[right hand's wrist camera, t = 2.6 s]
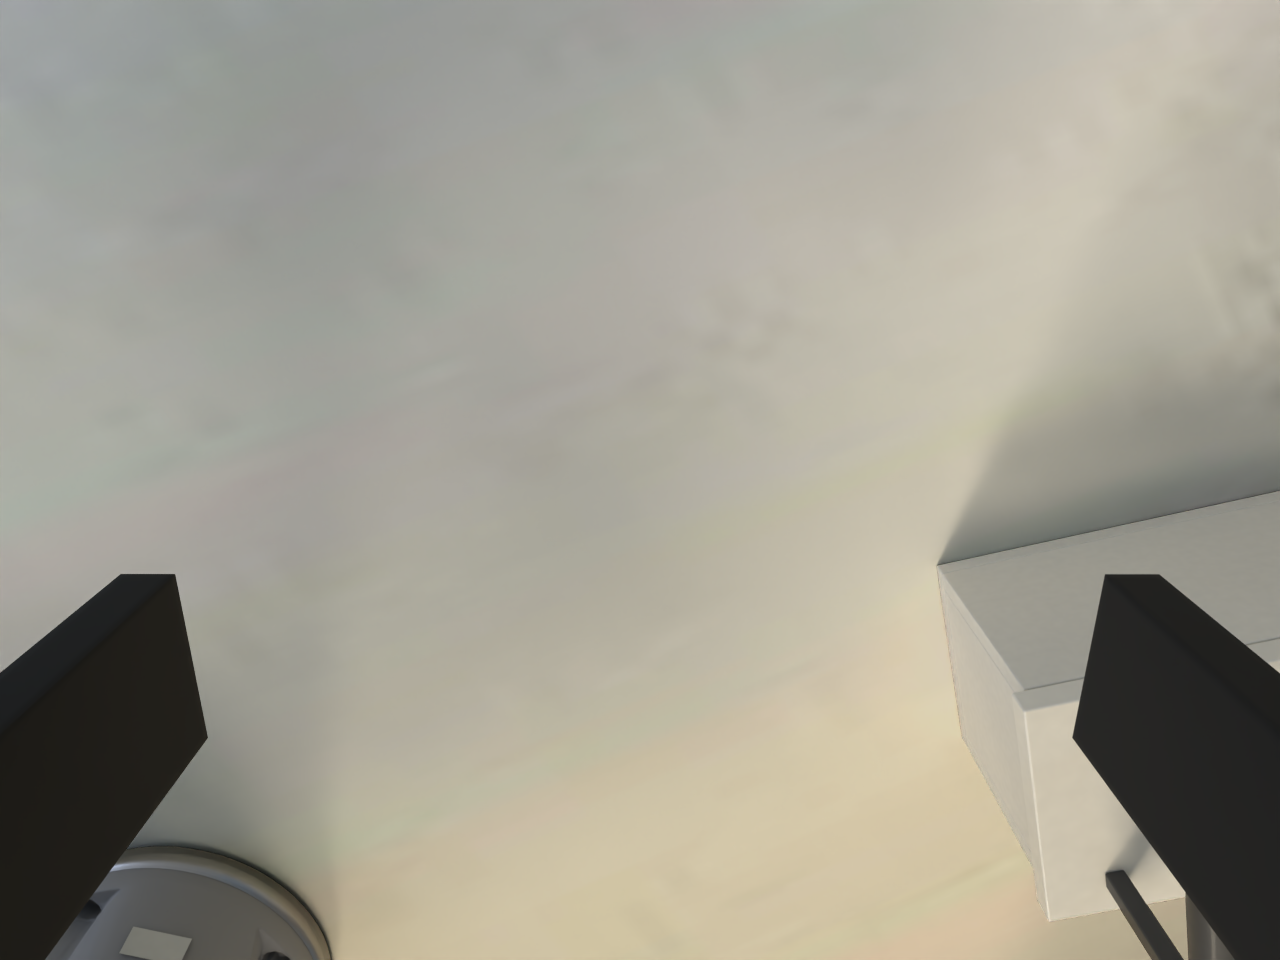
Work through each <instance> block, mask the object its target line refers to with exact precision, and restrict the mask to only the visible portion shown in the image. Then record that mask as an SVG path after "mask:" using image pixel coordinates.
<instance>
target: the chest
mask: <svg viewBox="0 0 1280 960" xmlns="http://www.w3.org/2000/svg"><path fill="white" fill-rule="evenodd" d="M937 572H938V578H939V585H940V592H941V599H942V605H943V612H944V619H945V626H946V632H947V639H948V646H949V653H950V659H951V666H952V673H953V679H954V686H955V693H956V700H957V706H958V713H959V720H960V727H961V733H962V738H963V740H964V742H965V744H966V746H967V747H968V749H969V751H970V753H971V755H972V757H973V759H974V761H975V762H976V764H977V766H978V768H979V770H980V772H981V773H982V775H983V777H984V779H985V781H986V783H987V784H988V786H989V788H990V790H991V792H992V794H993V796H994V797H995V799H996V801H997V803H998V805H999V807H1000V808H1001V810H1002V812H1003V814H1004V816H1005V818H1006V820H1007V821H1008V823H1009V825H1010V827H1011V829H1012V831H1013V832H1014V834H1015V836H1016V838H1017V840H1018V842H1019V844H1020V845H1021V847H1022V849H1023V851H1024V853H1025V855H1026V856H1027V858H1028V860H1029V862H1030V864H1031V866H1032V867H1033V863H1032V855H1031V847H1030V839H1029V831H1028V823H1027V815H1026V807H1025V798H1024V790H1023V782H1022V774H1021V766H1020V758H1019V750H1018V741H1017V733H1016V725H1015V717H1014V709H1013V701H1012V694H1013V693H1016V692H1021V691H1026V690H1031V689H1036V688H1041V687H1045V686H1050V685H1055V684H1060V683H1065V682H1070V681H1075V680H1080V679H1084V676H1085V671H1086V666H1087V661H1088V656H1089V651H1090V646H1091V641H1092V636H1093V631H1094V626H1095V621H1096V616H1097V611H1098V606H1099V601H1100V596H1101V591H1102V586H1103V581H1104V576H1105V574H1160V575H1161V576H1162V577H1163V578H1164V579H1166V580H1167V581H1168V582H1169V583H1171V584H1172V585H1173V586H1174V587H1175V588H1177V589H1178V590H1179V591H1180V592H1182V593H1183V594H1184V595H1185V596H1186V597H1188V598H1189V599H1190V600H1191V601H1193V602H1194V603H1195V604H1196V605H1197V606H1199V607H1200V608H1201V609H1202V610H1203V611H1205V612H1206V613H1207V614H1208V615H1210V616H1211V617H1212V618H1213V619H1214V620H1216V621H1217V622H1218V623H1219V624H1221V625H1222V626H1223V627H1224V628H1225V629H1227V630H1228V631H1229V632H1230V633H1232V634H1233V635H1234V636H1235V637H1236V638H1238V639H1239V640H1240V641H1241V642H1243V643H1244V644H1245V645H1251V644H1256V643H1261V642H1266V641H1271V640H1275V639H1280V491H1277V492H1272V493H1268V494H1263V495H1258V496H1254V497H1249V498H1245V499H1240V500H1236V501H1231V502H1226V503H1222V504H1217V505H1213V506H1208V507H1203V508H1199V509H1194V510H1190V511H1185V512H1181V513H1176V514H1171V515H1167V516H1162V517H1158V518H1153V519H1148V520H1144V521H1139V522H1135V523H1130V524H1126V525H1121V526H1116V527H1112V528H1107V529H1103V530H1098V531H1093V532H1089V533H1084V534H1080V535H1075V536H1071V537H1066V538H1061V539H1057V540H1052V541H1048V542H1043V543H1038V544H1034V545H1029V546H1025V547H1020V548H1015V549H1011V550H1006V551H1002V552H997V553H993V554H988V555H983V556H979V557H974V558H970V559H965V560H960V561H956V562H951V563H947V564H942V565H938V566H937Z"/></svg>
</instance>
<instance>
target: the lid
mask: <svg viewBox="0 0 1280 960" xmlns="http://www.w3.org/2000/svg"><path fill="white" fill-rule="evenodd" d="M1246 646H1247V647H1249V648H1250V649H1251V650H1252V651H1253V652H1255V653H1256V654H1257V655H1258V656H1260V657H1261V658H1262V659H1263V660H1264V661H1266V662H1267V663H1268V664H1269V665H1271V666H1272V667H1273V668H1274V669H1275V670H1277V671H1278V672H1279V673H1280V639H1275V640H1271V641H1266V642H1261V643H1256V644H1251V645H1246ZM1083 681H1084V679H1080V680H1075V681H1070V682H1065V683H1060V684H1055V685H1050V686H1045V687H1041V688H1036V689H1031V690H1026V691H1021V692H1016V693H1013V694H1012V701H1013V709H1014V717H1015V725H1016V733H1017V741H1018V750H1019V758H1020V766H1021V774H1022V782H1023V790H1024V798H1025V807H1026V815H1027V823H1028V831H1029V839H1030V847H1031V855H1032V863H1033V872H1034V880H1035V888H1036V896H1037V901H1038V903H1039V905H1040V906H1041V908H1042V910H1043V912H1044V914H1045V916H1046V918H1047V920H1048V921H1049V922H1053V921H1059V920H1064V919H1070V918H1075V917H1081V916H1086V915H1092V914H1097V913H1103V912H1108V911H1114V910H1119V909H1120V910H1121V911H1122V913H1123V914H1124V916H1125V918H1126V919H1127V921H1128V922H1129V924H1130V926H1131V927H1132V929H1133V930H1134V932H1135V933H1136V935H1137V937H1138V938H1139V940H1140V941H1141V943H1142V945H1143V946H1144V948H1145V949H1146V951H1147V953H1148V954H1149V956H1150V957H1151V959H1152V960H1184V959H1183V958H1182V956H1181V955H1180V953H1179V952H1178V950H1177V949H1176V947H1175V946H1174V944H1173V943H1172V941H1171V940H1170V938H1169V937H1168V935H1167V934H1166V932H1165V931H1164V929H1163V928H1162V926H1161V925H1160V923H1159V922H1158V920H1157V919H1156V917H1155V916H1154V914H1153V913H1152V911H1151V910H1150V908H1149V907H1148V905H1147V904H1152V903H1158V902H1163V901H1169V900H1174V899H1180V898H1186V918H1187V939H1188V959H1189V960H1235V959H1234V958H1233V956H1232V955H1231V954H1230V952H1229V951H1228V950H1227V948H1226V947H1225V946H1224V944H1223V943H1222V941H1221V940H1220V939H1219V937H1218V936H1217V935H1216V933H1215V932H1214V931H1213V929H1212V928H1211V926H1210V925H1209V924H1208V922H1207V921H1206V920H1205V918H1204V917H1203V916H1202V914H1201V913H1200V911H1199V910H1198V909H1197V907H1196V906H1195V905H1194V903H1193V902H1192V901H1191V899H1190V898H1189V896H1188V895H1187V894H1186V892H1185V891H1184V890H1183V888H1182V887H1181V886H1180V884H1179V883H1178V881H1177V880H1176V879H1175V877H1174V876H1173V875H1172V873H1171V872H1170V871H1169V869H1168V868H1167V866H1166V865H1165V864H1164V862H1163V861H1162V860H1161V858H1160V857H1159V856H1158V854H1157V853H1156V851H1155V850H1154V849H1153V847H1152V846H1151V845H1150V843H1149V842H1148V841H1147V839H1146V838H1145V836H1144V835H1143V834H1142V832H1141V831H1140V830H1139V828H1138V827H1137V826H1136V824H1135V823H1134V821H1133V820H1132V819H1131V817H1130V816H1129V815H1128V813H1127V812H1126V811H1125V809H1124V808H1123V806H1122V805H1121V804H1120V802H1119V801H1118V800H1117V798H1116V797H1115V796H1114V794H1113V793H1112V791H1111V790H1110V789H1109V787H1108V786H1107V785H1106V783H1105V782H1104V780H1103V779H1102V778H1101V776H1100V775H1099V774H1098V772H1097V771H1096V770H1095V768H1094V767H1093V765H1092V764H1091V763H1090V761H1089V760H1088V759H1087V757H1086V756H1085V755H1084V753H1083V752H1082V750H1081V749H1080V748H1079V746H1078V745H1077V744H1076V742H1075V741H1074V740H1073V738H1072V736H1073V731H1074V726H1075V721H1076V716H1077V711H1078V706H1079V701H1080V696H1081V691H1082V686H1083Z"/></svg>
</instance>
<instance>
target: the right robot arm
mask: <svg viewBox="0 0 1280 960" xmlns="http://www.w3.org/2000/svg"><path fill="white" fill-rule="evenodd" d="M207 738H208V736H207V731H206V726H205V721H204V716H203V711H202V706H201V701H200V696H199V691H198V686H197V681H196V676H195V671H194V666H193V661H192V656H191V651H190V646H189V641H188V636H187V631H186V626H185V621H184V616H183V611H182V606H181V601H180V596H179V591H178V586H177V581H176V576H175V574H120V575H119V576H118V577H117V578H116V579H114V580H113V581H112V582H111V583H109V584H108V585H107V586H106V587H105V588H103V589H102V590H101V591H100V592H98V593H97V594H96V595H95V596H94V597H92V598H91V599H90V600H89V601H87V602H86V603H85V604H84V605H83V606H81V607H80V608H79V609H78V610H77V611H75V612H74V613H73V614H72V615H70V616H69V617H68V618H67V619H66V620H64V621H63V622H62V623H61V624H59V625H58V626H57V627H56V628H55V629H53V630H52V631H51V632H50V633H48V634H47V635H46V636H45V637H44V638H42V639H41V640H40V641H39V642H37V643H36V644H35V645H34V646H33V647H31V648H30V649H29V650H28V651H27V652H25V653H24V654H23V655H22V656H20V657H19V658H18V659H17V660H16V661H14V662H13V663H12V664H11V665H9V666H8V667H7V668H6V669H5V670H3V671H2V672H1V673H0V960H331V959H330V954H329V950H328V946H327V944H326V941H325V939H324V936H323V934H322V932H321V930H320V929H319V927H318V925H317V923H316V922H315V920H314V919H313V917H312V916H311V915H310V913H309V912H308V911H307V910H306V909H305V907H304V906H303V905H302V904H301V903H300V902H299V901H298V900H297V899H296V898H295V897H294V896H293V895H292V894H291V893H289V892H288V891H287V890H286V889H285V888H284V887H282V886H281V885H279V884H278V883H277V882H275V881H274V880H272V879H271V878H269V877H268V876H266V875H264V874H263V873H261V872H259V871H257V870H255V869H253V868H251V867H249V866H247V865H245V864H243V863H240V862H238V861H236V860H233V859H230V858H227V857H224V856H221V855H218V854H214V853H210V852H206V851H202V850H196V849H191V848H183V847H170V846H153V847H140V848H133V849H127V847H128V846H129V845H130V843H131V842H132V841H133V839H134V838H135V836H136V835H137V834H138V832H139V831H140V830H141V828H142V827H143V826H144V824H145V823H146V821H147V820H148V819H149V817H150V816H151V815H152V813H153V812H154V811H155V809H156V808H157V806H158V805H159V804H160V802H161V801H162V800H163V798H164V797H165V796H166V794H167V793H168V791H169V790H170V789H171V787H172V786H173V785H174V783H175V782H176V780H177V779H178V778H179V776H180V775H181V774H182V772H183V771H184V770H185V768H186V767H187V765H188V764H189V763H190V761H191V760H192V759H193V757H194V756H195V755H196V753H197V752H198V750H199V749H200V748H201V746H202V745H203V744H204V742H205V741H206V740H207ZM1072 738H1073V740H1074V741H1075V742H1076V744H1077V745H1078V746H1079V748H1080V749H1081V750H1082V752H1083V753H1084V755H1085V756H1086V757H1087V759H1088V760H1089V761H1090V763H1091V764H1092V765H1093V767H1094V768H1095V770H1096V771H1097V772H1098V774H1099V775H1100V776H1101V778H1102V779H1103V780H1104V782H1105V783H1106V785H1107V786H1108V787H1109V789H1110V790H1111V791H1112V793H1113V794H1114V796H1115V797H1116V798H1117V800H1118V801H1119V802H1120V804H1121V805H1122V806H1123V808H1124V809H1125V811H1126V812H1127V813H1128V815H1129V816H1130V817H1131V819H1132V820H1133V821H1134V823H1135V824H1136V826H1137V827H1138V828H1139V830H1140V831H1141V832H1142V834H1143V835H1144V836H1145V838H1146V839H1147V841H1148V842H1149V843H1150V845H1151V846H1152V847H1153V849H1154V850H1155V851H1156V853H1157V854H1158V856H1159V857H1160V858H1161V860H1162V861H1163V862H1164V864H1165V865H1166V866H1167V868H1168V869H1169V871H1170V872H1171V873H1172V875H1173V876H1174V877H1175V879H1176V880H1177V881H1178V883H1179V884H1180V886H1181V887H1182V888H1183V890H1184V891H1185V892H1186V894H1187V895H1188V896H1189V898H1190V899H1191V901H1192V902H1193V903H1194V905H1195V906H1196V907H1197V909H1198V910H1199V911H1200V913H1201V914H1202V916H1203V917H1204V918H1205V920H1206V921H1207V922H1208V924H1209V925H1210V926H1211V928H1212V929H1213V931H1214V932H1215V933H1216V935H1217V936H1218V937H1219V939H1220V940H1221V941H1222V943H1223V944H1224V946H1225V947H1226V948H1227V950H1228V951H1229V952H1230V954H1231V955H1232V956H1233V958H1234V959H1235V960H1280V673H1279V672H1278V671H1277V670H1275V669H1274V668H1273V667H1272V666H1271V665H1269V664H1268V663H1267V662H1266V661H1264V660H1263V659H1262V658H1261V657H1260V656H1258V655H1257V654H1256V653H1255V652H1253V651H1252V650H1251V649H1250V648H1249V647H1247V646H1246V645H1245V644H1244V643H1243V642H1241V641H1240V640H1239V639H1238V638H1236V637H1235V636H1234V635H1233V634H1232V633H1230V632H1229V631H1228V630H1227V629H1225V628H1224V627H1223V626H1222V625H1221V624H1219V623H1218V622H1217V621H1216V620H1214V619H1213V618H1212V617H1211V616H1210V615H1208V614H1207V613H1206V612H1205V611H1203V610H1202V609H1201V608H1200V607H1199V606H1197V605H1196V604H1195V603H1194V602H1193V601H1191V600H1190V599H1189V598H1188V597H1186V596H1185V595H1184V594H1183V593H1182V592H1180V591H1179V590H1178V589H1177V588H1175V587H1174V586H1173V585H1172V584H1171V583H1169V582H1168V581H1167V580H1166V579H1164V578H1163V577H1162V576H1161V575H1160V574H1105V576H1104V581H1103V586H1102V591H1101V596H1100V601H1099V606H1098V611H1097V616H1096V621H1095V626H1094V631H1093V636H1092V641H1091V646H1090V651H1089V656H1088V661H1087V666H1086V671H1085V676H1084V681H1083V686H1082V691H1081V696H1080V701H1079V706H1078V711H1077V716H1076V721H1075V726H1074V731H1073V736H1072ZM126 849H127V850H126Z"/></svg>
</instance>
